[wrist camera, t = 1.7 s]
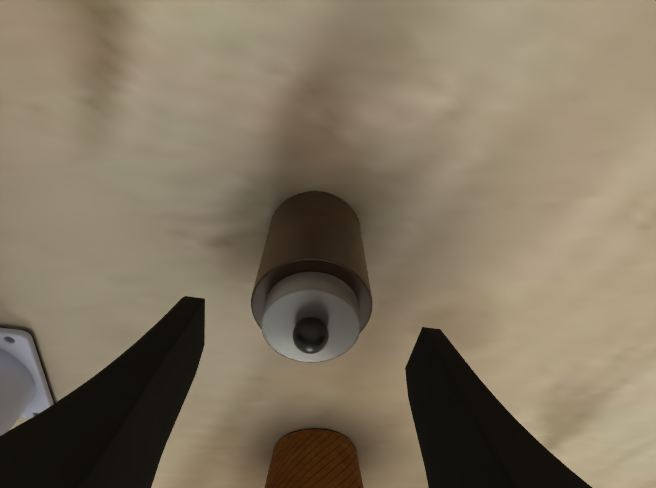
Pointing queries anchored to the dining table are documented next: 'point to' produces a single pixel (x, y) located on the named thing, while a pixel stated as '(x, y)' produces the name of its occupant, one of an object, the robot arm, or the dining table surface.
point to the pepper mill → (312, 279)
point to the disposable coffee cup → (314, 461)
